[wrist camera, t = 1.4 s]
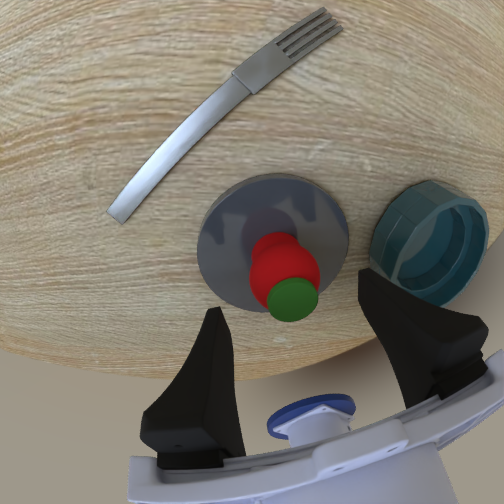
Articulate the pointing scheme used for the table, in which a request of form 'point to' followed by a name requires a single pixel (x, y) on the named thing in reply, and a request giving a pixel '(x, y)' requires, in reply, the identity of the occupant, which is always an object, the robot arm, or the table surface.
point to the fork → (219, 109)
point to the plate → (268, 232)
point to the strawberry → (284, 277)
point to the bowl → (431, 242)
